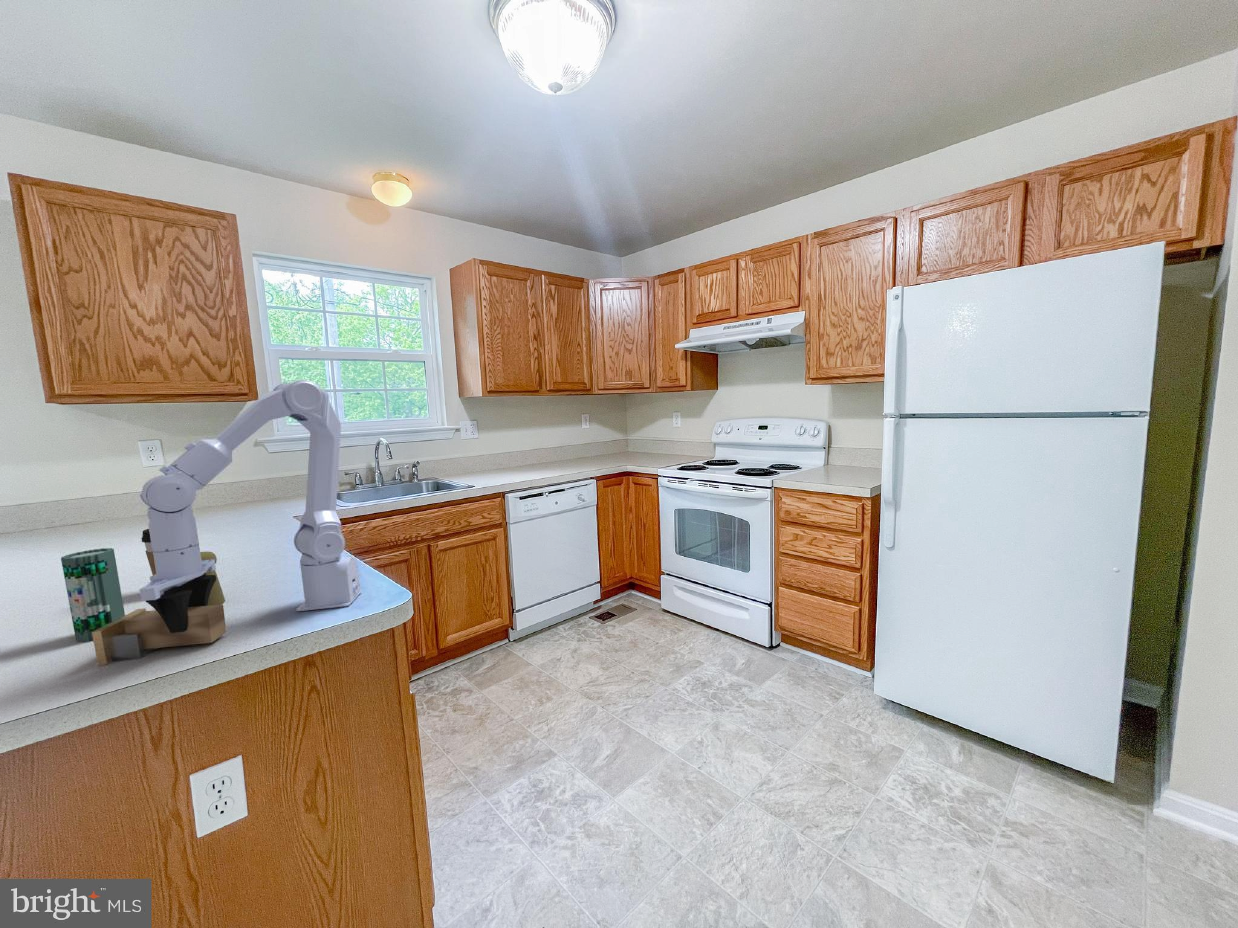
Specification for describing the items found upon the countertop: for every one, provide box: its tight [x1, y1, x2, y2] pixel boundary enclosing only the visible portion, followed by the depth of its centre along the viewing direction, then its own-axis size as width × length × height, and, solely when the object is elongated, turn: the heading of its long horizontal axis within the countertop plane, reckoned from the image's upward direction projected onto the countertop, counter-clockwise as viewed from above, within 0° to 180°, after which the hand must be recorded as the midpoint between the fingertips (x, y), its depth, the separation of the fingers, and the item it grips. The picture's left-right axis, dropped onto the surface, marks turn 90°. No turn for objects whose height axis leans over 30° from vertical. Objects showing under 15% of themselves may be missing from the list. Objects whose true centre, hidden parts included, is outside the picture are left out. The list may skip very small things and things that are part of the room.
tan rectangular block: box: [124, 604, 227, 649], centre depth 82 cm, size 12×4×5 cm, turn 100°
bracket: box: [92, 608, 157, 666], centre depth 81 cm, size 5×9×6 cm, turn 10°
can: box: [60, 547, 126, 643], centre depth 87 cm, size 6×6×15 cm
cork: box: [200, 551, 226, 606], centre depth 99 cm, size 6×6×11 cm
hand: (188, 625), depth 82 cm, fingers closed on tan rectangular block, 4 cm apart
